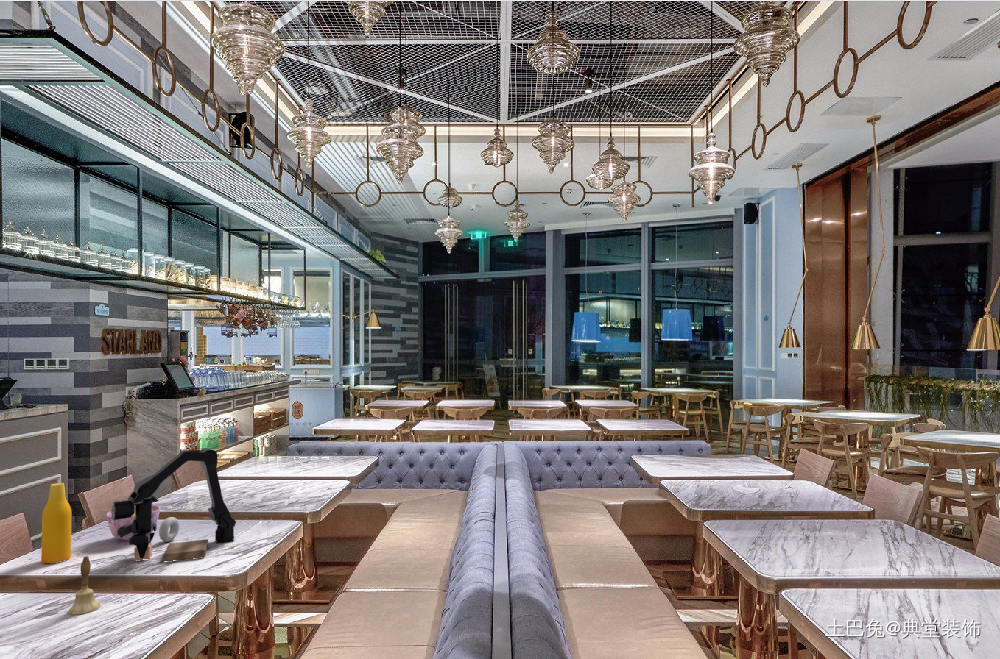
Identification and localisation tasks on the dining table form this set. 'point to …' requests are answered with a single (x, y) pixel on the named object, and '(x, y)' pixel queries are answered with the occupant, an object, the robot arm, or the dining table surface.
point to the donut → (164, 529)
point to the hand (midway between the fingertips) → (143, 555)
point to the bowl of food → (116, 524)
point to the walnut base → (186, 550)
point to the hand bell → (84, 593)
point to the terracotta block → (147, 554)
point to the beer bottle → (56, 526)
